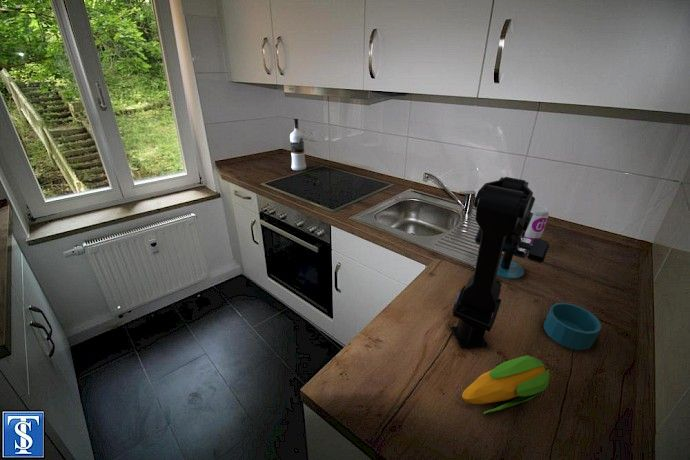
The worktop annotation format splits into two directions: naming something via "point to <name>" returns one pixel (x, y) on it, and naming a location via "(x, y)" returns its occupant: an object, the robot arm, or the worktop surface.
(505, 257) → the lid
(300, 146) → the vodka
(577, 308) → the pot
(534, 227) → the supplement can
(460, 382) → the worktop surface
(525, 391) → the corn
